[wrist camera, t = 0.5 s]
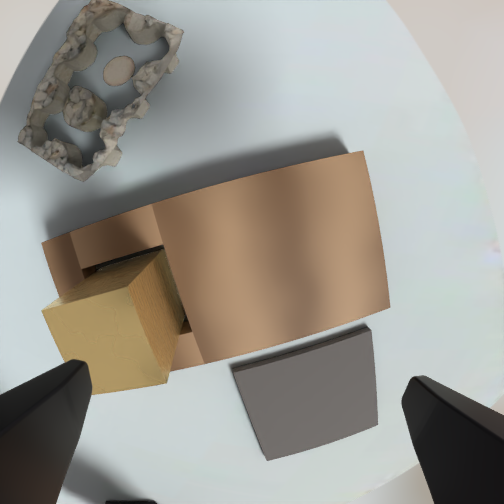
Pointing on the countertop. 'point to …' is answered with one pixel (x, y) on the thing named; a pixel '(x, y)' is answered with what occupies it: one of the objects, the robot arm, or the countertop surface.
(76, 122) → the egg carton
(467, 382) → the countertop surface
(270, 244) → the walnut board
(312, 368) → the rubber mat
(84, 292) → the brass plug
